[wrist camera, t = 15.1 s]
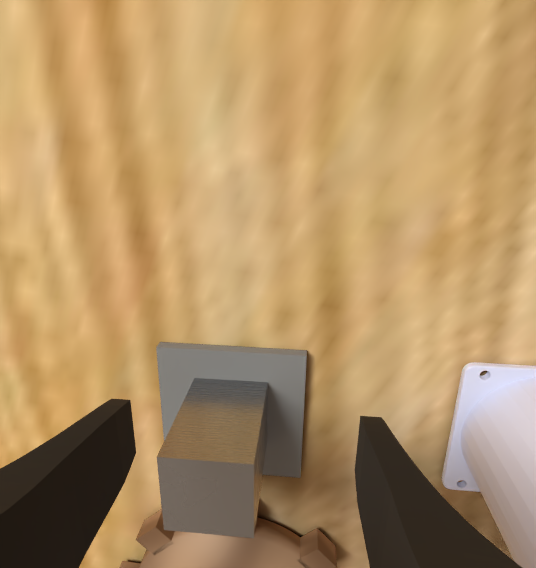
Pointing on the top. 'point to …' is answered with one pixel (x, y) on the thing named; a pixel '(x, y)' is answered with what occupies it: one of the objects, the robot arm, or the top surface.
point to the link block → (215, 459)
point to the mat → (243, 367)
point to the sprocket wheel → (232, 548)
